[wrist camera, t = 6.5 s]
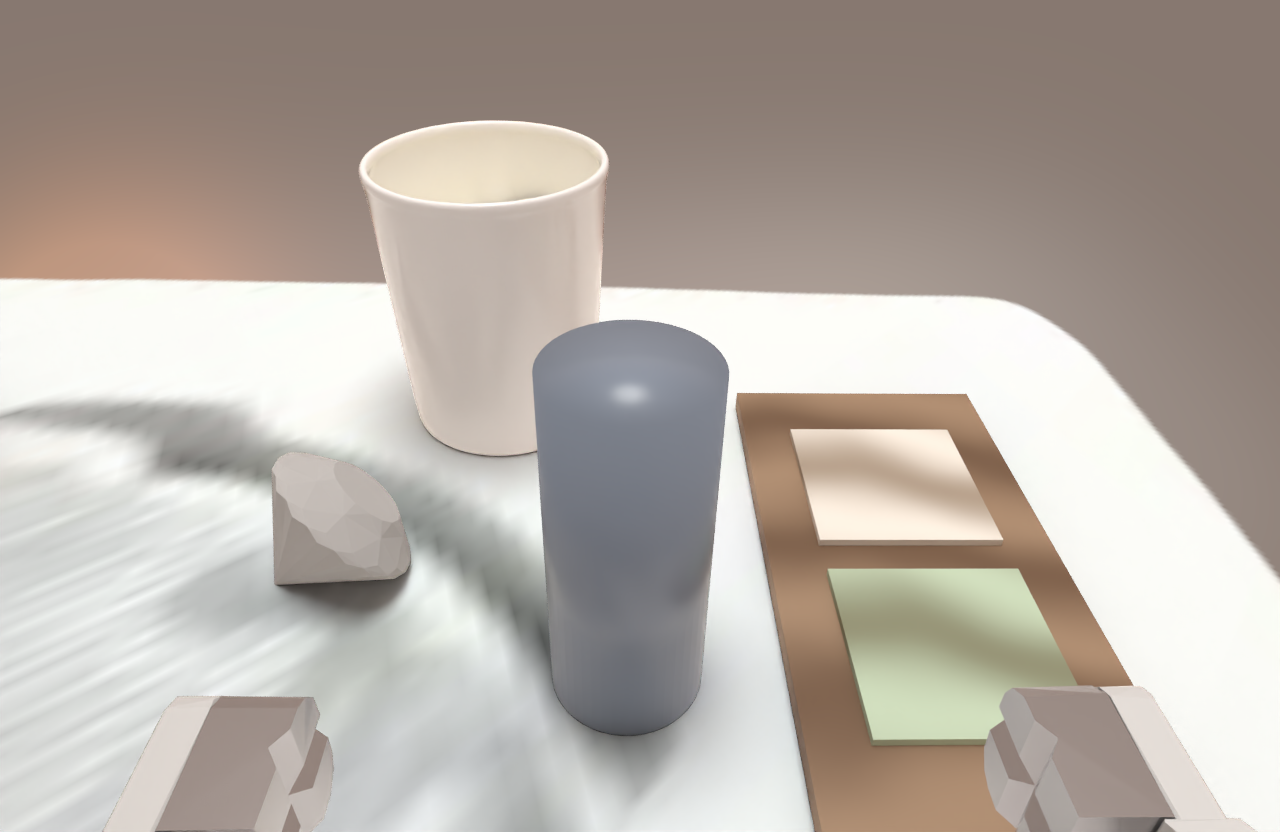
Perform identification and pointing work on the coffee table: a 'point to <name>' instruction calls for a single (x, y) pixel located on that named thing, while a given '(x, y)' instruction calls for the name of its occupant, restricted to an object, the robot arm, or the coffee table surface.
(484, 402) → the candle holder
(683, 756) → the coffee table surface
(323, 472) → the gemstone
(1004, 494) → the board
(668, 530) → the post
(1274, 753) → the coffee table surface
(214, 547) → the coffee table surface
